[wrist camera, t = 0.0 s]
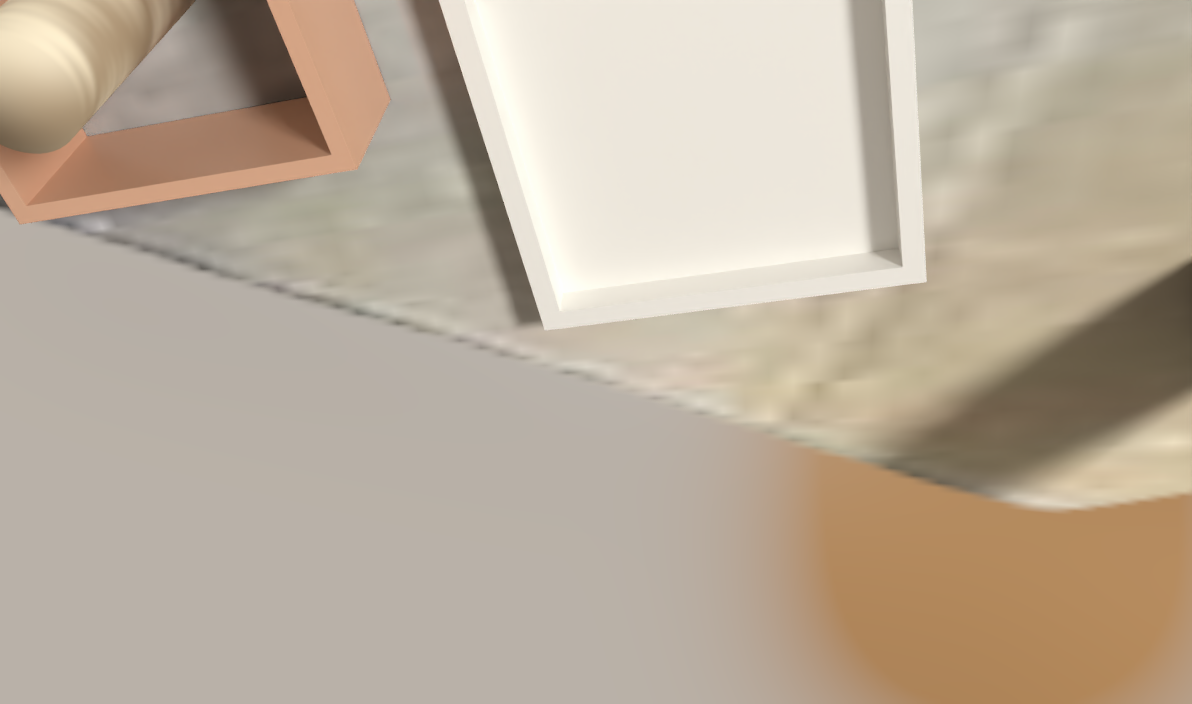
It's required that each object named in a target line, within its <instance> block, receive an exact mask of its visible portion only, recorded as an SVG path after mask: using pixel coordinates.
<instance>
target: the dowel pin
mask: <svg viewBox="0 0 1192 704" xmlns="http://www.w3.org/2000/svg"><path fill="white" fill-rule="evenodd" d="M195 1H196V0H8V1H6V2H5V3H4V4H3V5H2V6H0V145H2V146H4V147H7V148H10V149H13V150H16V151H20V152H24V153H33V154H41V153H48V152H52V151H55V150H58V149H60V148H62V147H63V146H65V145H66V144H67V143H69V142H70V141H71V140H72V138H73V137H74V136H75V135H76V134H77V133H78V132H79V131H80V130H81V128H82V127H83V126H84V125H85V124H86V123H87V122H88V121H89V119H90V118H91V117H92V116H93V115H94V114H95V113H96V112H97V110H98V109H99V108H100V107H101V106H102V105H103V104H104V103H105V102H106V100H107V99H108V98H109V97H110V96H111V95H112V94H113V93H114V91H115V90H116V89H117V88H118V87H119V86H120V85H121V84H122V82H123V81H124V80H125V79H126V78H127V77H128V76H129V75H130V74H131V72H132V71H133V70H134V69H135V68H136V67H137V66H138V65H139V63H140V62H141V61H142V60H143V59H144V58H145V57H146V56H147V54H148V53H149V52H150V51H151V50H152V49H153V48H154V47H155V46H156V44H157V43H158V42H159V41H160V40H161V39H162V38H163V37H164V35H165V34H166V33H167V32H168V31H169V30H170V29H171V28H172V26H173V25H174V24H175V23H176V22H177V21H178V20H179V19H180V18H181V16H182V15H183V14H184V13H185V12H186V11H187V10H188V9H189V7H190V6H191V5H192V4H193V3H194V2H195Z"/></svg>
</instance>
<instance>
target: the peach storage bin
mask: <svg viewBox="0 0 1192 704" xmlns="http://www.w3.org/2000/svg"><path fill="white" fill-rule="evenodd" d="M6 1H8V0H0V6H2V5H3V4H4V3H5V2H6ZM267 2H268V5H269V7H270V9H271V12H272V14H273V16H274V19H275V21H276V24H277V26H278V28H279V31H280V33H281V35H282V38H283V40H284V43H285V45H286V47H287V50H288V52H289V55H290V57H291V59H292V62H293V64H294V66H295V69H296V71H297V74H298V76H299V78H300V81H301V83H302V85H303V88H304V90H305V93H306V95H307V97H305V98H299V99H293V100H288V101H282V102H277V103H271V104H266V105H260V106H254V107H249V108H243V109H238V110H232V111H227V112H221V113H215V114H210V115H204V116H199V117H193V118H188V119H182V120H176V121H171V122H165V123H160V124H154V125H149V126H143V127H137V128H132V129H126V130H121V131H115V132H109V133H104V134H98V135H93V136H87V135H86V134H85V132H84V130H83V128H81V130H80V131H79V132H78V133H77V134H76V135H75V136H74V137H73V138H72V140H71V141H70V142H69V143H67V144H66V145H65V146H63V147H62V148H60V149H58V150H55V151H52V152H48V153H41V154H33V153H24V152H20V151H16V150H13V149H10V148H7V147H4V146H2V145H0V194H1V196H2V197H3V199H4V200H5V202H6V203H7V205H8V206H9V208H10V210H11V211H12V213H13V214H14V216H15V217H16V219H17V220H18V222H19V224H26V223H32V222H38V221H44V220H50V219H56V218H62V217H68V216H74V215H81V214H87V213H93V212H99V211H105V210H111V209H117V208H123V207H129V206H136V205H142V204H148V203H154V202H160V201H166V200H172V199H178V198H184V197H191V196H197V195H203V194H209V193H215V192H221V191H227V190H233V189H239V188H246V187H252V186H258V185H264V184H270V183H276V182H282V181H288V180H295V179H301V178H307V177H313V176H319V175H325V174H331V173H337V172H343V171H350V170H356V169H358V167H359V165H360V163H361V161H362V158H363V156H364V154H365V152H366V150H367V148H368V146H369V144H370V142H371V140H372V138H373V135H374V133H375V131H376V129H377V127H378V125H379V123H380V121H381V119H382V117H383V114H384V112H385V110H386V108H387V106H388V104H389V102H390V100H391V99H390V97H389V94H388V91H387V89H386V86H385V83H384V80H383V78H382V75H381V72H380V70H379V67H378V64H377V61H376V59H375V56H374V53H373V51H372V48H371V45H370V43H369V40H368V37H367V34H366V32H365V29H364V26H363V24H362V21H361V18H360V16H359V13H358V10H357V7H356V5H355V2H354V0H267Z"/></svg>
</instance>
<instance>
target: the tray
mask: <svg viewBox="0 0 1192 704" xmlns="http://www.w3.org/2000/svg"><path fill="white" fill-rule="evenodd" d="M439 3H440V6H441V9H442V12H443V15H444V18H445V21H446V24H447V27H448V31H449V34H450V37H451V40H452V43H453V46H454V49H455V52H456V55H457V58H458V62H459V65H460V68H461V71H462V74H463V77H464V80H465V83H466V86H467V90H468V93H469V96H470V99H471V102H472V105H473V108H474V111H475V114H476V118H477V121H478V124H479V127H480V130H481V133H482V136H483V139H484V142H485V146H486V149H487V152H488V155H489V158H490V161H491V164H492V167H493V170H494V174H495V177H496V180H497V183H498V186H499V189H500V192H501V195H502V198H503V202H504V205H505V208H506V211H507V214H508V217H509V220H510V223H511V226H512V230H513V233H514V236H515V239H516V242H517V245H518V248H519V251H520V254H521V258H522V261H523V264H524V267H525V270H526V273H527V276H528V279H529V282H530V286H531V289H532V292H533V295H534V298H535V301H536V304H537V307H538V310H539V314H540V317H541V320H542V323H543V326H544V329H545V330H553V329H561V328H569V327H577V326H585V325H593V324H600V323H608V322H616V321H624V320H632V319H640V318H647V317H655V316H663V315H671V314H679V313H687V312H695V311H702V310H710V309H718V308H726V307H734V306H742V305H749V304H757V303H765V302H773V301H781V300H789V299H797V298H804V297H812V296H820V295H828V294H836V293H844V292H851V291H859V290H867V289H875V288H883V287H891V286H898V285H906V284H914V283H922V282H927V281H926V262H925V242H924V222H923V202H922V183H921V163H920V143H919V124H918V104H917V84H916V64H915V45H914V25H913V5H912V0H439Z"/></svg>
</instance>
